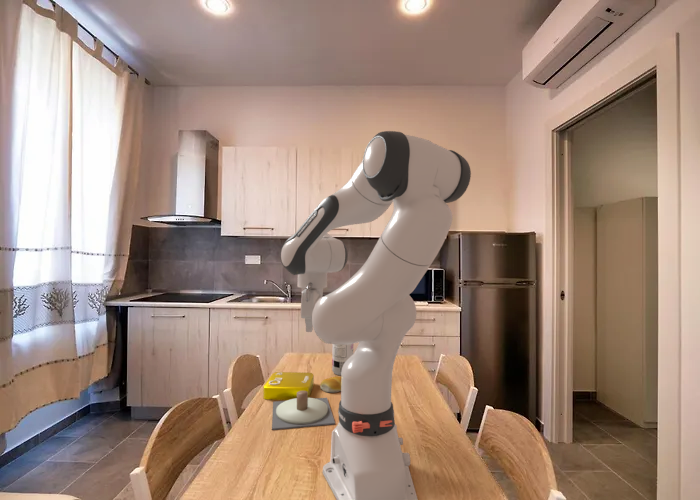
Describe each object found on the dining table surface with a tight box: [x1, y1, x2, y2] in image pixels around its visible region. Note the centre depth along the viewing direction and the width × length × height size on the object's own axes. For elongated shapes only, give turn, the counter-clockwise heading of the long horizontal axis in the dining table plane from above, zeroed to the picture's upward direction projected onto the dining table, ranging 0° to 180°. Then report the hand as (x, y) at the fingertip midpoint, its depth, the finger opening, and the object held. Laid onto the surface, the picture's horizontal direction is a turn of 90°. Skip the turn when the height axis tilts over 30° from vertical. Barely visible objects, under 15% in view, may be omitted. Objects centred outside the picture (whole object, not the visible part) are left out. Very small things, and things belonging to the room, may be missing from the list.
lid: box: [276, 391, 328, 424], centre depth 102 cm, size 15×15×6 cm
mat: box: [271, 397, 336, 431], centre depth 102 cm, size 17×17×1 cm
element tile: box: [262, 371, 315, 401], centre depth 118 cm, size 15×15×5 cm
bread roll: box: [319, 375, 341, 394], centre depth 121 cm, size 8×9×4 cm
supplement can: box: [331, 343, 354, 377], centre depth 137 cm, size 8×8×15 cm
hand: (311, 327), depth 103 cm, fingers open, 8 cm apart
